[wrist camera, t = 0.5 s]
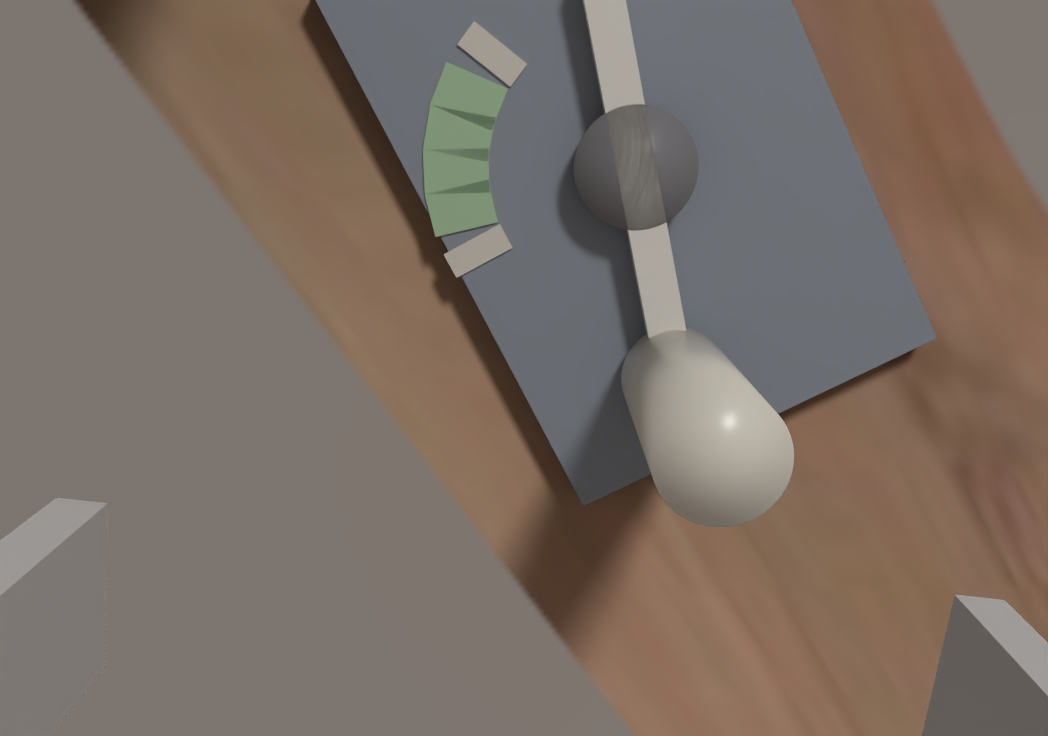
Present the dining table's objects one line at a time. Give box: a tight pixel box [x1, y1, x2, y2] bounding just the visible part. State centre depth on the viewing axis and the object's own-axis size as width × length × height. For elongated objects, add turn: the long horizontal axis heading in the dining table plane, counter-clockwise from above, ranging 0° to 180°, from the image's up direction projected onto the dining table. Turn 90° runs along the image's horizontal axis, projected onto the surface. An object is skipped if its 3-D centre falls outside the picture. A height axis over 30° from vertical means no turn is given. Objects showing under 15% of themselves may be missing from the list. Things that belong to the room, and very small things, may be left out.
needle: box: [574, 0, 794, 527], centre depth 31 cm, size 19×4×10 cm, turn 12°
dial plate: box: [316, 0, 937, 507], centre depth 36 cm, size 22×15×1 cm
